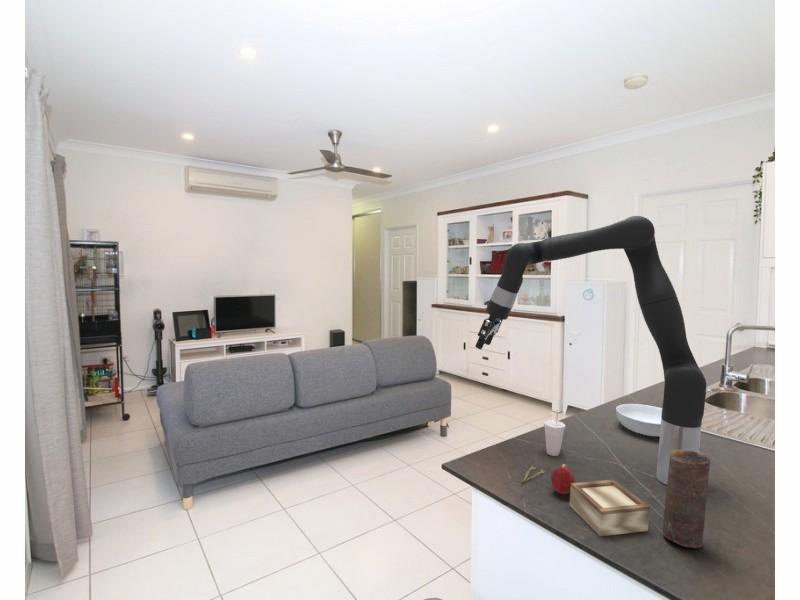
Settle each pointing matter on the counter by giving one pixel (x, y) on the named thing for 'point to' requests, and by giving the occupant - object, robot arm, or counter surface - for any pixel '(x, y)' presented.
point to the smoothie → (554, 435)
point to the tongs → (530, 477)
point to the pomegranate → (562, 479)
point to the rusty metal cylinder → (686, 497)
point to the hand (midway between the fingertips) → (482, 345)
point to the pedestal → (609, 507)
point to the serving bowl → (640, 418)
